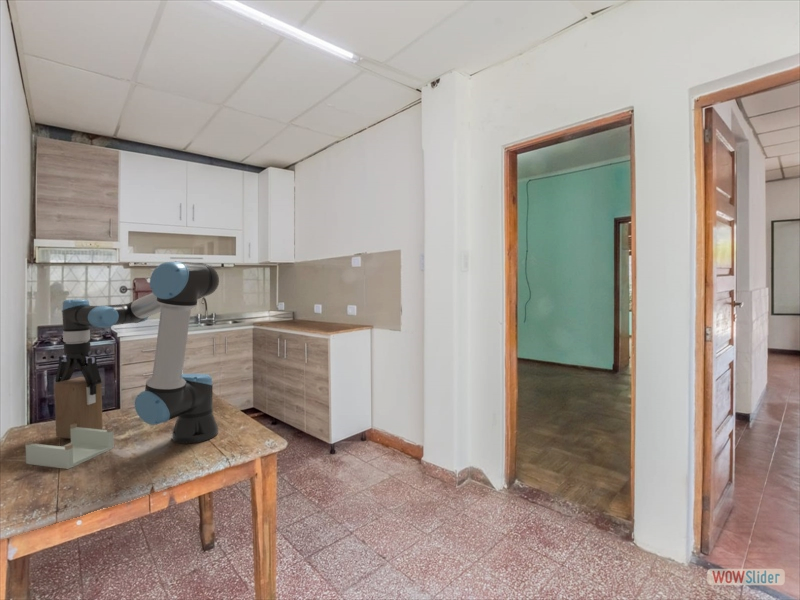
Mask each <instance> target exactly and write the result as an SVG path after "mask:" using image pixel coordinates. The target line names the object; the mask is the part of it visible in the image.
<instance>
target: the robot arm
mask: <svg viewBox="0 0 800 600" xmlns="http://www.w3.org/2000/svg"><path fill="white" fill-rule="evenodd" d="M219 277H220V276H219V274H218V272H217V271H216V269H215V268H214V267H213V266H211V265H210V264H207V263H203V262H186V261H176V260H175V261H166V262H162V263H160V264H159V265H158V266H156V267H155V268H154V270H153V271H152V273H151V274H150V278H149V287H150V289H151V293H149V294H146V295H144V296H141V297H140V298H137V299H135V300H133V301H131V302H128V303H124V304H123V303H121V304H119V303H118V304H106V305H90V301H89V299H85V298H82V299H80V298H79V299H76V298H74V299H73V298H72V299H65V300H63V301H62V310H61V313H62V329H63V331H62V338H63V339H62V340H63V342H64V343H63V354H65V355H61V356H58V366H57V371H56V377H55V383H57V382H61V381H65V380H69V379H72V376H73V374H74V372H75V370H76V369H77V370H79V371H80V372H81V374H82V377H84V378H85V380H86V382H87V384H88V386H87V387H86V392H87V405H89V404H92V403H95V402H96V396H95V394H96V385H97V384H100V383H101V384H102V379H101V374H100V371H99V368H98V364H97V363H98V362H97V361H98V360H97V356H91V357H90V356H89V353H90V352H91V342H90V340H91V332H90V330H91V327H92V328H99V329H103V328H111V327H113V326H118V325H119V326H120V325H126V324H139V323H142V322H145V321H147V320H148V318H149V317H151V316H153V315H156V314H158V313H160V314H159V321H158V322H159V323H158V330H157V337H156V345H155V346H156V347H155V351H154V352H155V353H154V361H153V369H152V376H151V377H150V378H148V379H147V380H146V383H145V390H142V391H141V392H140V393H139V394H137V395H136V397H135V400H134V409H135V412H136V413H137V415H138V417H139V419H140V420H141V421H142V422H144V423H145V424H148V425H152V426H155V425H159V424H162V423H164V424H165V423H166V422H168V421H170V420H172V419H175V418H176V421H175V423H174V427H173V430H172V433H171V434H172V435H171V436H172V437H171V438H172V441H173V442H174V443H177V444H195V443H201V442H202V443H203V442H204V441H209V440H210V439H213V438H215V437H216V436H217V435H218V434H219V425H218V423H217V421H216V419H215V416H214V413H213V411H214V409H213V405H214V404H213V400H214V399H213V398H214V397H213V378H212V376H211V375H210V374H206V373H183V370H184V363H185V356H186V348H187V340H188V333H189V327H190V320H191V319H190V318H191V311H192V310H193V309H194V308H195V307H197V305H198V300H199V299H201V298H205V297H207V296H210V295H212V294H213V293H215V292H216V290H217V289H218V287H219V284H220V278H219ZM91 382H92V383H91Z"/></svg>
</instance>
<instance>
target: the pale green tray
mask: <svg viewBox="0 0 800 600" xmlns="http://www.w3.org/2000/svg"><path fill="white" fill-rule="evenodd" d="M70 432H71V439H70V442H68V443H66V444H64V445H61V446H60V445H59V446H58V445H51V444H50V445H49V444H41V443H35V442H34V439H29V440H26V441H25V464H26V465H34V466H39V467H40V466H41V467H49V468H57V469H67V470H69V469H72V468H74V467H76V466H78V465H80V464H83V463H84V462H86V461H89V460H91V459H93V458H95V457H97V456H100V455H102V454H103V453H105V452H108V451H110V450H112V449H114V448H115V446H114V444H115V443H114V427H111V426H110V427H108V428H106V429H102V430H101V429H91V428H81V427H77V424H72V425H70Z"/></svg>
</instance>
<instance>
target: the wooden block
mask: <svg viewBox="0 0 800 600" xmlns="http://www.w3.org/2000/svg"><path fill="white" fill-rule="evenodd" d="M91 383H92V382H91ZM87 386H88V384H87V382H86V380H85V378H84V376H78V377H73V378H70V379H69V380H65V381H61V382H55V383H54V386H53V387H54V409H55V413H54V414H55V435H56V437H57V438H64V439H70V440H71V432H70V425H72V424H77V427H81V428H91V429H101V430H103V427H104V426H103V398H102V397H103V396H102V394H103V393H102V382H101V383H100V384H97V385H96V394H95V396H96V402H95V403H92V404H89V405H87V392H86V387H87Z"/></svg>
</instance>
